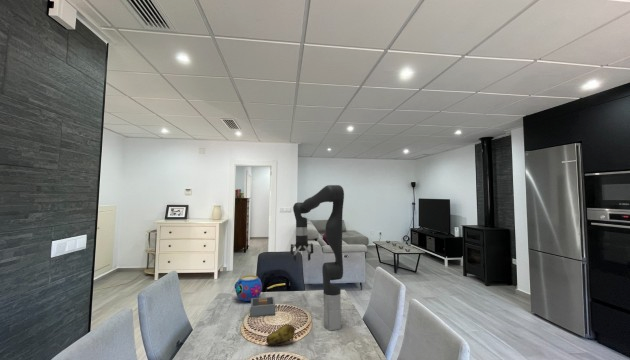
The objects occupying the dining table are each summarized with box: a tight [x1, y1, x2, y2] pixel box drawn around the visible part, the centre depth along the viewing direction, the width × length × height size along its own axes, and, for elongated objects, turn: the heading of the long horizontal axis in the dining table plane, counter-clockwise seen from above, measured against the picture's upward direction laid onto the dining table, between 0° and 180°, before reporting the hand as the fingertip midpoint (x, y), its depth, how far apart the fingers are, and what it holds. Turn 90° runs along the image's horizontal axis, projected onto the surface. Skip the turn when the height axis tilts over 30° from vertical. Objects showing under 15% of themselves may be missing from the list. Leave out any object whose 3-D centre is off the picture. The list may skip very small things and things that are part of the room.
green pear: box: [266, 323, 296, 345], centre depth 125 cm, size 8×13×8 cm, turn 83°
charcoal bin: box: [250, 296, 276, 318], centre depth 161 cm, size 14×14×6 cm
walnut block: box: [259, 297, 267, 305], centre depth 161 cm, size 5×5×6 cm
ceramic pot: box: [234, 274, 263, 302], centre depth 181 cm, size 18×18×15 cm
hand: (302, 260), depth 164 cm, fingers open, 8 cm apart
